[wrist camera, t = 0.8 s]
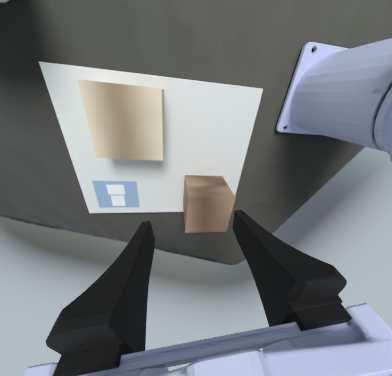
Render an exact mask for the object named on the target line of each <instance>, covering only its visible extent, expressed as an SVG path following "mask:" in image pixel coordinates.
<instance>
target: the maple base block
mask: <svg viewBox="0 0 392 376" xmlns="http://www.w3.org/2000/svg"><path fill="white" fill-rule="evenodd" d="M77 80H78V84H79V88H80V92H81V96H82V100H83V104H84V108H85V112H86V117H87V121H88V125H89V129H90V133H91V137H92V141H93V145H94V149H95V153H96V157H97V158H107V159H133V160H160V161H163V158H164V90H163V89H162V88H153V87H144V86H135V85H125V84H116V83H107V82H98V81H89V80H80V79H77Z"/></svg>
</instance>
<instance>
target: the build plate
mask: <svg viewBox="0 0 392 376" xmlns="http://www.w3.org/2000/svg"><path fill="white" fill-rule="evenodd" d="M39 64H40V67H41V70H42V73H43V76H44V79H45V82H46V85H47V88H48V91H49V94H50V97H51V100H52V103H53V106H54V109H55V112H56V115H57V118H58V121H59V124H60V127H61V130H62V133H63V136H64V139H65V142H66V145H67V148H68V151H69V153H70V156H71V159H72V162H73V165H74V168H75V171H76V174H77V177H78V180H79V183H80V186H81V189H82V192H83V195H84V198H85V201H86V204H87V207H88V210H89V213H132V212H183V196H184V179H185V175H200V176H223V178H224V179H225V181H226V183H227V184H228V186H229V188H230V189H231V191H232V192H233V194H234V196H235V194H236V191H237V187H238V183H239V179H240V175H241V171H242V168H243V164H244V160H245V156H246V152H247V149H248V145H249V141H250V137H251V133H252V130H253V126H254V122H255V118H256V114H257V111H258V107H259V103H260V99H261V95H262V92H263V89H260V88H252V87H244V86H236V85H227V84H219V83H211V82H203V81H194V80H186V79H178V78H170V77H162V76H153V75H145V74H137V73H129V72H121V71H112V70H104V69H96V68H88V67H80V66H71V65H63V64H55V63H47V62H39ZM77 79H80V80H89V81H98V82H107V83H116V84H125V85H135V86H144V87H153V88H162V89H163V90H164V158H163V161H160V160H133V159H107V158H97V157H96V153H95V149H94V145H93V141H92V137H91V133H90V129H89V125H88V121H87V117H86V112H85V108H84V104H83V100H82V96H81V92H80V88H79V84H78V80H77Z"/></svg>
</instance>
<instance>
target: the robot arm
mask: <svg viewBox="0 0 392 376" xmlns="http://www.w3.org/2000/svg"><path fill="white" fill-rule="evenodd" d="M312 48H314V51H313V53H312ZM284 126H286V128H285V129H284ZM276 130H277V131H278V132H286V133H299V134H313V135H325V136H329V137H332V138H336V139H340V140H343V141H347V142H351V143H355V144H358V145H362V146H366V147H370V148H373V149H377V150H381V151H385V152H387V153H389V155H390V157H391V161H392V38H390V39H387V40H383V41H379V42H375V43H371V44H367V45H363V46H359V47H355V48H352V49H348V48H342V47H337V46H332V45H326V44H321V43H315V42H309V43H307V44H305V45H304V46H303V49H302V51H301V54H300V57H299V60H298V63H297V66H296V69H295V72H294V75H293V78H292V81H291V84H290V87H289V90H288V93H287V96H286V99H285V102H284V105H283V108H282V111H281V114H280V117H279V120H278V123H277V126H276ZM233 230H234V233H235V236H236V239H237V241H238V243H239V245H240V247H241V249H242V251H243V254H244V256H245V258H246V260H247V262H248V264H249V266H250V269H251V272H252V274H253V277H254V280H255V282H256V286H257V288H258V291H259V294H260V298H261V301H262V304H263V307H264V310H265V314H266V317H267V320H268V324H269V327H267V328H261V329H256V330H251V331H246V332H241V333H235V334H230V335H225V336H220V337H214V338H210V339H204V340H199V341H194V342H188V343H183V344H178V345H173V346H168V347H162V348H157V349H152V350H147V351H145V339H146V315H147V314H146V313H147V298H148V297H147V296H148V285H149V277H150V271H151V265H152V260H153V253H154V242H155V237H154V234H153V230H152V226H151V223H150V221H147V222H142V223H141V225H140V226H139V228H138V230H137V231H136V233H135V234H134V236H133V237H132V239H131V240H130V242H129V243H128V245H127V246H126V247H125V249H124V250H123V252H122V253H121V254H120V255H119V257H118V258H117V259H116V260H115V261H114V263H113V264H112V265H111V266H110V267H109V268H108V269H107V270H106V271H105V272H104V273H103V274H102V275H101V276H100V278H98V280H96V281H95V282H94V283H93V284H92V285H91V286H90V287H89V288H88V289H87V290H86V291H85V292H83V293H82V294H81V295H80V296H79V297H77V298H76V299H75V300H74V301H73V302H71V303H70V304H69V305H68V306H66V307H65V308H64V309H63V310H62V311H61V313H60V315H59V317H58V318H57V320H56V322H55V324H54V326H53V328H52V330H51V332H50V334H49V336H48V338H47V340H46V344H47V346H48V347H49V348H51V349H53V350H54V351H56V352H58V353H60V354H61V358H60V360H59V362H58V363H47V364H41V365H36V366H31V367H28V368H27V369H26V370H25V372H24V374H23V375H22V376H391V375H392V330H391V329H390V327H389V326H388V325H387V324H386V323H385V322H384V321H383V320H382V319H381V318H380V317H379V316H378V315H377V314H376V312H375V311H374V310H373V309H372V308H371V307H370V306H369V305H368V304H366V303H365V304H359V305H354V306H350V307H347V308H344V307H343V306H342V304H341V303H342V300H341V299H340V297H339V296H338V294H339V293H340V292H341V291H342V290H343V288H344V287H345V286H346V282H347V281H346V279H345V278H344V277H343V276H342V275H341V274H340V273H339V272H338V270H337V269H336V268H335V267H334V266H332V265H330V264H328V263H325V262H323V261H320V260H318V259H316V258H313V257H311V256H309V255H307V254H305V253H303V252H301V251H299V250H297V249H295V248H293V247H291V246H290V245H288V244H286V243H284V242H283V241H281V240H279V239H278V238H276V237H275V236H273V235H272V234H271V233H269V232H268V231H266V230H265V229H264V228H262V227H261V226H260V225H259V224H257V223H256V222H255V221H254V220H253V219H251V218H250V217H249V216H248V215H247V214H246V213H245V212H243V211H242V210H237V211H235V213H234V222H233ZM260 348H263V351H261V350H258V349H260ZM191 362H192V363H191ZM186 363H190V364H189V365H188V366H186V367H182V368H179V369H176V370H172V371H169V372H168V369H167V367H171V366H176V365H181V364H186Z"/></svg>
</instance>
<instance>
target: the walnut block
mask: <svg viewBox="0 0 392 376" xmlns="http://www.w3.org/2000/svg"><path fill="white" fill-rule="evenodd" d="M234 201H235V196H234V194H233V192H232V191H231V189H230V188H229V186H228V184H227V183H226V181H225V179H224V178H223V176H200V175H185V179H184V196H183V213H184V223H185V233H195V232H224V231H227V227H228V224H229V220H230V216H231V212H232V209H233V205H234Z"/></svg>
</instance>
